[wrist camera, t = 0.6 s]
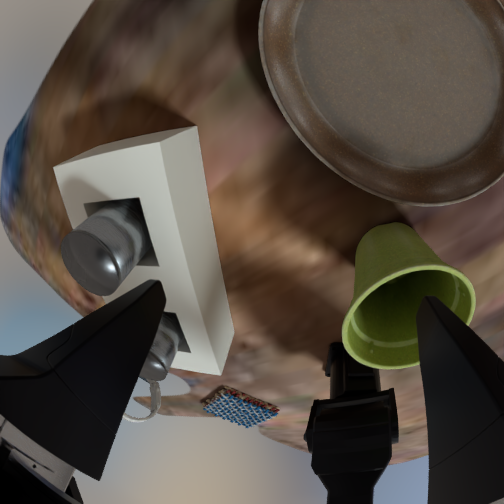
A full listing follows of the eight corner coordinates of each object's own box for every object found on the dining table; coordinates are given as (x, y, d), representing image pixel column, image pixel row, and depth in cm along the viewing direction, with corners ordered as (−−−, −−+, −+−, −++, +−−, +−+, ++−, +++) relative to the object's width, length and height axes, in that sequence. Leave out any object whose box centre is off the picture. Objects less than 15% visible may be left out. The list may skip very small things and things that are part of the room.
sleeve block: (234, 332, 31) (221, 375, 26) (157, 323, 33) (137, 359, 28) (196, 125, 20) (159, 142, 15) (98, 145, 22) (53, 167, 17)
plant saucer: (314, -85, 8) (314, -105, 5) (530, 46, 8) (552, 47, 6) (228, 123, 19) (214, 130, 17) (452, 229, 20) (467, 249, 17)
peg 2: (193, 338, 26) (173, 385, 22) (151, 332, 27) (128, 374, 23) (180, 302, 24) (154, 351, 19) (135, 297, 25) (106, 340, 20)
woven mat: (284, 405, 41) (282, 416, 39) (251, 420, 46) (249, 430, 45) (227, 381, 39) (223, 392, 37) (201, 400, 45) (198, 409, 43)
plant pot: (315, 269, 25) (313, 347, 18) (375, 180, 19) (409, 237, 12) (393, 306, 25) (409, 379, 18) (454, 235, 20) (497, 301, 13)
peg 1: (164, 251, 21) (128, 299, 16) (116, 250, 22) (78, 292, 17) (148, 192, 18) (101, 232, 14) (99, 197, 19) (51, 233, 15)
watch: (134, 334, 36) (98, 396, 27) (181, 364, 38) (155, 428, 29) (125, 347, 39) (93, 403, 30) (168, 374, 41) (143, 432, 32)
